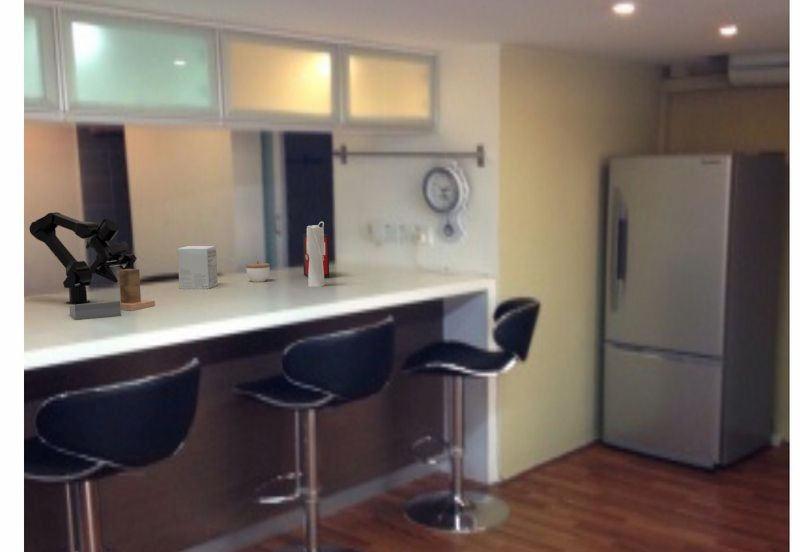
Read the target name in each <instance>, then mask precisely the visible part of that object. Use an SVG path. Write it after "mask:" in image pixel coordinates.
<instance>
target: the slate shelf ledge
mask: <svg viewBox="0 0 800 552" xmlns="http://www.w3.org/2000/svg"><path fill="white" fill-rule="evenodd" d="M120 301H121V300H115V301H104V302H103V301H102V302H91V303H90V302H88V303H79V304H74V305H69V315H70V317H72V318H73V319H74V320H76V321H77V320H78V321H79V320H86V319H88V320H89V319H98V318H100V319H101V318H111V317H119V316H122V310H121V306H120Z"/></svg>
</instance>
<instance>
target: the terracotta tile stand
mask: <svg viewBox="0 0 800 552" xmlns="http://www.w3.org/2000/svg"><path fill="white" fill-rule="evenodd" d="M119 301H120V306H121V311H129V312H130V311H137V310H142V309H147V308H152V307H156V302H155V300H152V299H151V300H150V299H141V301H140V302H135V303H121V300H119Z"/></svg>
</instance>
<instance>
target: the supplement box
mask: <svg viewBox="0 0 800 552" xmlns="http://www.w3.org/2000/svg"><path fill="white" fill-rule="evenodd" d="M217 258H218V257H217V246H216V245H210V246H209V245H187V246H182V247H179V248H177V261H178V263H177V265H178V286H179V287H178V288H179V290H185V289H186V290H187V289H188V290H195V289H196V290H209V289H211V288H214V287H216V286H218V260H217Z"/></svg>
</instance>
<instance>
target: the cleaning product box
mask: <svg viewBox="0 0 800 552" xmlns="http://www.w3.org/2000/svg"><path fill="white" fill-rule="evenodd" d="M329 238H330V237H329V235H328V234H326V233H324V249H323V255H322V261H323V269H324V280H325V279H330V251H329V250H330V247H329V246H330V245H329V244H330V243H329V242H330V241H329ZM302 252H303V256H302V258H303V262H302V263H303V276H305V277H306V278H308V274H309V254H308V248H307V233H302Z"/></svg>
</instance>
